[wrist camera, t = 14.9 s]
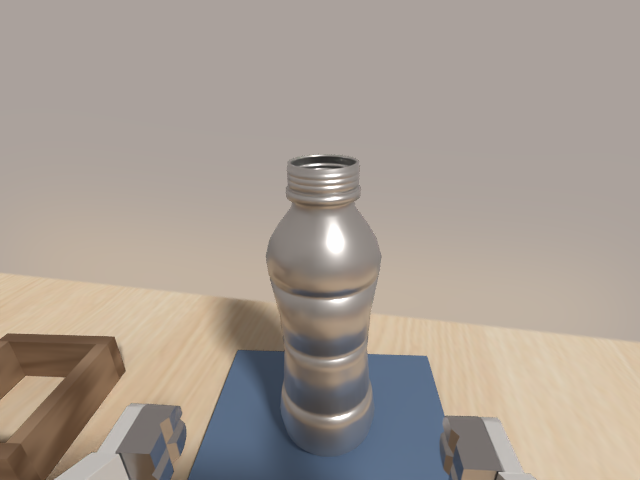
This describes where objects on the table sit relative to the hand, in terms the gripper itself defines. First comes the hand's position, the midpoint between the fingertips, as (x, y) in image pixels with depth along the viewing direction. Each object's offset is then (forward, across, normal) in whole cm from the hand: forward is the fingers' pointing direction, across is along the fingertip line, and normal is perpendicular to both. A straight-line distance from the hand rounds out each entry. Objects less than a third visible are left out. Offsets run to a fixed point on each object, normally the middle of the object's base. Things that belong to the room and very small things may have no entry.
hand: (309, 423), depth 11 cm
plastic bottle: (+11, 0, -14) cm, 18 cm away
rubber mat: (+10, 0, -15) cm, 18 cm away
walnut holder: (+11, -24, -15) cm, 30 cm away
